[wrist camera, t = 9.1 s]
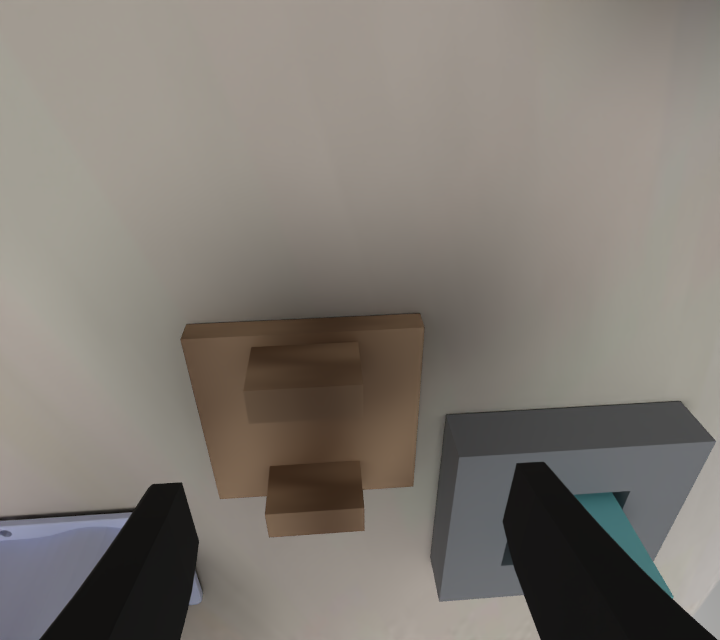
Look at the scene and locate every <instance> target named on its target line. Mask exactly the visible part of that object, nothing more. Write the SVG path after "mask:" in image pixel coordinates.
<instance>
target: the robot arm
mask: <svg viewBox="0 0 720 640" xmlns="http://www.w3.org/2000/svg"><path fill="white" fill-rule="evenodd" d="M502 522H503V526H504V530H505V534H506V538H507V543H508V547H509V550H510V554H511V558H512V562H513V565H514V569H515V572H516V575H517V577H518V580H519V583H520V586H521V588H522V591H523V594H524V596H525V599H526V602H527V604H528V607H529V610H530V612H531V615H532V618H533V620H534V623H535V626H536V628H537V631H538V634H539V636H540V639H541V640H717V639H716V638H715V637H714V636H713V635H712V634H711V633H709V632H708V631H707V630H706V629H705V628H704V627H703V626H701V625H700V624H699V623H698V622H697V621H696V620H695V619H694V618H693V617H691V616H690V615H689V614H688V613H687V612H686V611H685V610H684V609H683V608H682V607H681V606H680V605H679V604H677V603H676V602H675V601H674V600H673V599H672V598H671V597H670V596H669V595H668V594H667V593H666V592H665V591H664V590H663V589H662V588H661V587H660V586H659V585H658V584H657V583H656V582H655V581H654V580H653V579H652V578H651V577H650V576H649V575H647V574H646V572H645V571H644V570H643V569H642V568H641V567H640V566H639V565H638V564H637V563H636V562H635V561H634V560H633V559H632V558H631V557H630V556H629V555H628V554H627V553H626V552H625V551H624V550H623V549H622V548H621V547H620V546H619V545H618V543H617V542H616V541H615V540H614V539H613V538H612V537H611V536H610V535H609V534H608V533H607V532H606V531H605V530H604V529H603V527H602V526H601V525H600V524H599V523H598V522H597V521H596V520H595V519H594V518H593V516H592V515H591V514H590V513H589V512H588V511H587V510H586V509H585V507H584V506H583V505H582V504H581V503H580V502H579V501H578V500H577V498H576V497H575V496H574V495H573V494H572V493H571V492H570V490H569V489H568V488H567V487H566V486H565V485H564V484H563V482H562V481H561V480H560V479H559V478H558V477H557V475H556V474H555V473H554V472H553V471H552V470H551V468H550V467H549V466H548V465H547V464H546V463H545V462H527V463H516V467H515V472H514V476H513V480H512V484H511V488H510V492H509V496H508V501H507V505H506V509H505V513H504V517H503V521H502ZM198 545H199V540H198V536H197V533H196V529H195V526H194V523H193V519H192V516H191V512H190V509H189V505H188V502H187V498H186V495H185V492H184V488H183V485H182V482H181V483H164V484H152V485H151V486H150V487H149V488H148V489H147V491H146V492H145V494H144V495H143V497H142V499H141V500H140V502H139V503H138V505H137V506H136V508H135V509H134V511H133V512H128V513H113V514H98V515H82V516H67V517H52V518H37V519H22V520H7V521H0V640H180V638H181V634H182V630H183V626H184V622H185V618H186V614H187V610H188V606H189V605H196V604H199V603H200V602H201V601H202V597H203V592H202V589H201V586H200V583H199V580H198V577H197V574H196V571H195V568H196V560H197V552H198Z"/></svg>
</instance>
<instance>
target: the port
mask: <svg viewBox="0 0 720 640" xmlns="http://www.w3.org/2000/svg"><path fill="white" fill-rule="evenodd" d="M715 443H716V441H715V439H714V438H713V437H712V436H711V435H710V434H709V433H708V432H707V430H706V429H705V428H704V427H703V426H702V425H701V424H700V423H699V421H698V420H697V419H696V418H695V417H694V416H693V415H692V414H691V413H690V411H689V410H688V409H687V408H686V407H685V406H684V405H683V404H682V402H681V401H678V402H661V403H643V404H626V405H609V406H592V407H574V408H557V409H540V410H523V411H506V412H488V413H471V414H454V415H446V422H445V431H444V439H443V448H442V457H441V466H440V475H439V484H438V493H437V502H436V511H435V520H434V529H433V538H432V547H431V556H430V558H431V563H432V568H433V573H434V578H435V583H436V588H437V593H438V598H439V602H440V601H453V600H466V599H479V598H491V597H504V596H517V595H524V594H523V591H522V588H521V586H520V583H519V580H518V577H517V575H516V572H515V569H514V565H513V562H512V558H511V554H510V550H509V547H508V543H507V538H506V534H505V530H504V526H503V522H502V521H503V517H504V513H505V509H506V505H507V501H508V496H509V492H510V488H511V484H512V480H513V476H514V472H515V467H516V463H527V462H545V463H546V464H547V465H548V466H549V467H550V468H551V470H552V471H553V472H554V473H555V474H556V475H557V477H558V478H559V479H560V480H561V481H562V482H563V484H564V485H565V486H566V487H567V488H568V489H569V490H570V492H571V493H572V494H573V495H577V494H592V493H607V492H612V493H613V495H614V496H615V498H616V500H617V502H618V503H619V505H620V507H621V508H622V510H623V512H624V513H625V515H626V517H627V519H628V520H629V522H630V524H631V525H632V527H633V529H634V530H635V532H636V534H637V535H638V537H639V539H640V541H641V542H642V544H643V546H644V547H645V549H646V551H647V552H648V554H649V556H650V558H651V559H652V561H654V559H655V557H656V555H657V553H658V552H659V550H660V548H661V546H662V544H663V542H664V540H665V538H666V536H667V534H668V532H669V530H670V529H671V527H672V525H673V523H674V521H675V519H676V517H677V515H678V513H679V511H680V509H681V508H682V506H683V504H684V502H685V500H686V498H687V496H688V494H689V492H690V490H691V488H692V487H693V485H694V483H695V481H696V479H697V477H698V475H699V473H700V471H701V469H702V467H703V465H704V464H705V462H706V460H707V458H708V456H709V454H710V452H711V450H712V448H713V446H714V444H715Z"/></svg>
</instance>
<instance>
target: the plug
mask: <svg viewBox="0 0 720 640" xmlns="http://www.w3.org/2000/svg"><path fill="white" fill-rule="evenodd" d="M574 496H575V497H576V498H577V500H578V501H579V502H580V503H581V504H582V505H583V506H584V507H585V509H586V510H587V511H588V512H589V513H590V514H591V515H592V516H593V518H594V519H595V520H596V521H597V522H598V523H599V524H600V525H601V526H602V527H603V529H604V530H605V531H606V532H607V533H608V534H609V535H610V536H611V537H612V538H613V539H614V540H615V541H616V542H617V543H618V545H619V546H620V547H621V548H622V549H623V550H624V551H625V552H626V553H627V554H628V555H629V556H630V557H631V558H632V559H633V560H634V561H635V562H636V563H637V564H638V565H639V566H640V567H641V568H642V569H643V570H644V571H645V572H646V574H647V575H649V576H650V577H651V578H652V579H653V580H654V581H655V582H656V583H657V584H658V585H659V586H660V587H661V588H662V589H663V590H664V591H665V592H666V593H667V594H668V595H669V596H670V597H671V598H672V599H673V595H672V593H671V592H670V590H669V588H668V586H667V585H666V583H665V581H664V580H663V578H662V576H661V575H660V573H659V571H658V569H657V568H656V566H655V564H654V563H653V561H652V559H651V558H650V556H649V554H648V552H647V551H646V549H645V547H644V546H643V544H642V542H641V541H640V539H639V537H638V535H637V534H636V532H635V530H634V529H633V527H632V525H631V524H630V522H629V520H628V519H627V517H626V515H625V513H624V512H623V510H622V508H621V507H620V505H619V503H618V502H617V500H616V498H615V496H614V495H613V493H612V492H607V493H592V494H577V495H574Z"/></svg>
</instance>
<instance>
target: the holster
mask: <svg viewBox="0 0 720 640" xmlns="http://www.w3.org/2000/svg"><path fill="white" fill-rule="evenodd" d="M180 340H181V344H182V348H183V352H184V356H185V360H186V364H187V368H188V372H189V376H190V380H191V384H192V388H193V392H194V396H195V400H196V404H197V408H198V412H199V416H200V420H201V424H202V429H203V433H204V437H205V441H206V445H207V449H208V453H209V457H210V461H211V465H212V469H213V473H214V477H215V481H216V485H217V489H218V493H219V497H220V499H228V498H244V497H259V496H267V500H266V510H265V518H266V523H267V529H268V535H269V537H282V536H296V535H311V534H325V533H339V532H354V531H364V500H363V490H366V489H381V488H396V487H411V486H413V483H414V468H415V454H416V440H417V426H418V412H419V398H420V384H421V370H422V355H423V341H424V325H423V321H422V318H421V315H420V313H419V314H398V315H376V316H355V317H334V318H312V319H291V320H270V321H248V322H227V323H206V324H186V327H185V329H184V332H183V334H182V337H181V339H180Z"/></svg>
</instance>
